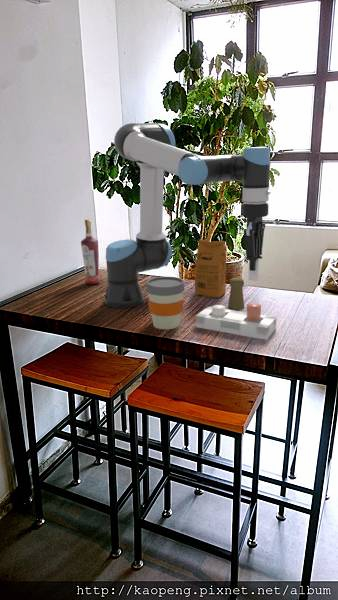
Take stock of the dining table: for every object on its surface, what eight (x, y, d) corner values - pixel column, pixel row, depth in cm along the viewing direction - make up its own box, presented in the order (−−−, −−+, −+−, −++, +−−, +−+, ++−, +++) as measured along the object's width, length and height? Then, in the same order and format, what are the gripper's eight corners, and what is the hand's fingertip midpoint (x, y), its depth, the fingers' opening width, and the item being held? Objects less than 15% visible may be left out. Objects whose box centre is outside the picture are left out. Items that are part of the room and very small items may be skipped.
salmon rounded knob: (244, 319, 143) (244, 306, 142) (249, 315, 147) (249, 302, 146) (257, 321, 141) (258, 308, 140) (262, 317, 145) (262, 304, 144)
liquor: (104, 282, 202) (100, 219, 192) (94, 286, 196) (88, 221, 187) (92, 280, 205) (86, 218, 196) (81, 284, 199) (75, 220, 190)
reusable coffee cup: (182, 332, 146) (181, 288, 141) (144, 330, 148) (142, 286, 143) (187, 318, 158) (186, 276, 153) (152, 316, 160) (150, 276, 155)
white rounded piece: (209, 320, 150) (209, 308, 148) (215, 316, 153) (215, 304, 152) (222, 322, 148) (222, 310, 146) (227, 318, 151) (227, 306, 150)
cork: (244, 310, 164) (244, 280, 160) (227, 309, 165) (227, 280, 162) (244, 304, 169) (245, 276, 166) (228, 303, 171) (229, 275, 167)
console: (195, 327, 150) (195, 315, 149) (208, 317, 158) (208, 306, 157) (266, 339, 139) (267, 327, 137) (275, 328, 147) (276, 317, 146)
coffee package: (201, 288, 190) (201, 236, 182) (229, 292, 184) (230, 238, 176) (190, 295, 181) (190, 241, 174) (218, 299, 175) (219, 243, 168)
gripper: (260, 205, 125) (258, 286, 133) (274, 200, 136) (271, 275, 143) (235, 204, 129) (234, 284, 136) (250, 199, 140) (249, 273, 147)
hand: (253, 279), depth 140 cm, fingers closed
